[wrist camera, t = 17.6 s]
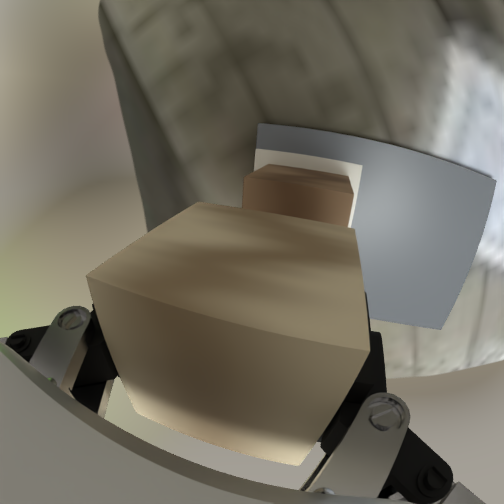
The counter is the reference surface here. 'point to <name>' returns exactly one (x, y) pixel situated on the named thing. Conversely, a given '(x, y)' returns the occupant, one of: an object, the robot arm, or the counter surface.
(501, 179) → the counter surface
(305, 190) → the walnut block
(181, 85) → the counter surface
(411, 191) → the build board
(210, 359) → the maple block
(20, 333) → the robot arm
